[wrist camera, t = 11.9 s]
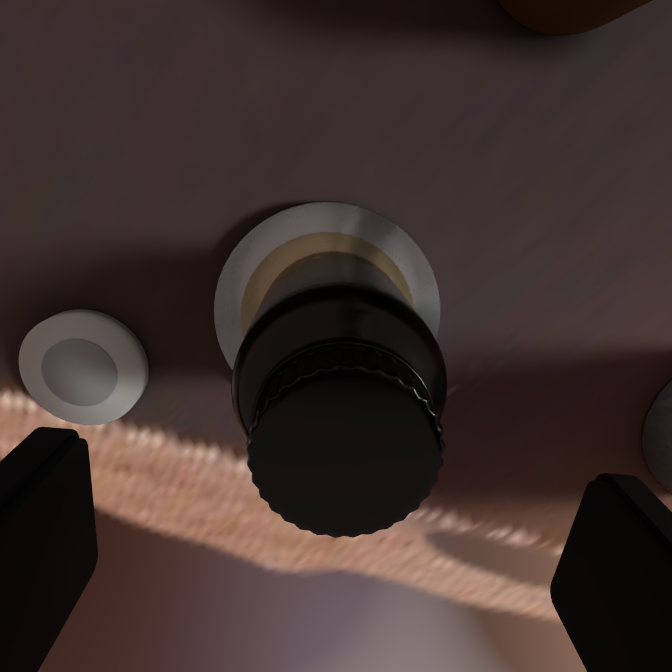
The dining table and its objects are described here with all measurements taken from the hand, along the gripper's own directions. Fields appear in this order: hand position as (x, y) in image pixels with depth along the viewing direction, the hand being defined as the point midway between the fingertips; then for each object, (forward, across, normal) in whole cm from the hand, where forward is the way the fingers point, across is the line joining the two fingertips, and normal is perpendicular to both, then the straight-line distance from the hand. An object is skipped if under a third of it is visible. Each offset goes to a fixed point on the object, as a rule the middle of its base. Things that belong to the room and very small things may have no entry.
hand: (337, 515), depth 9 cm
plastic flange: (+15, +12, +5) cm, 20 cm away
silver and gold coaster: (+15, 0, +1) cm, 15 cm away
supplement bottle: (+14, 0, +1) cm, 14 cm away
